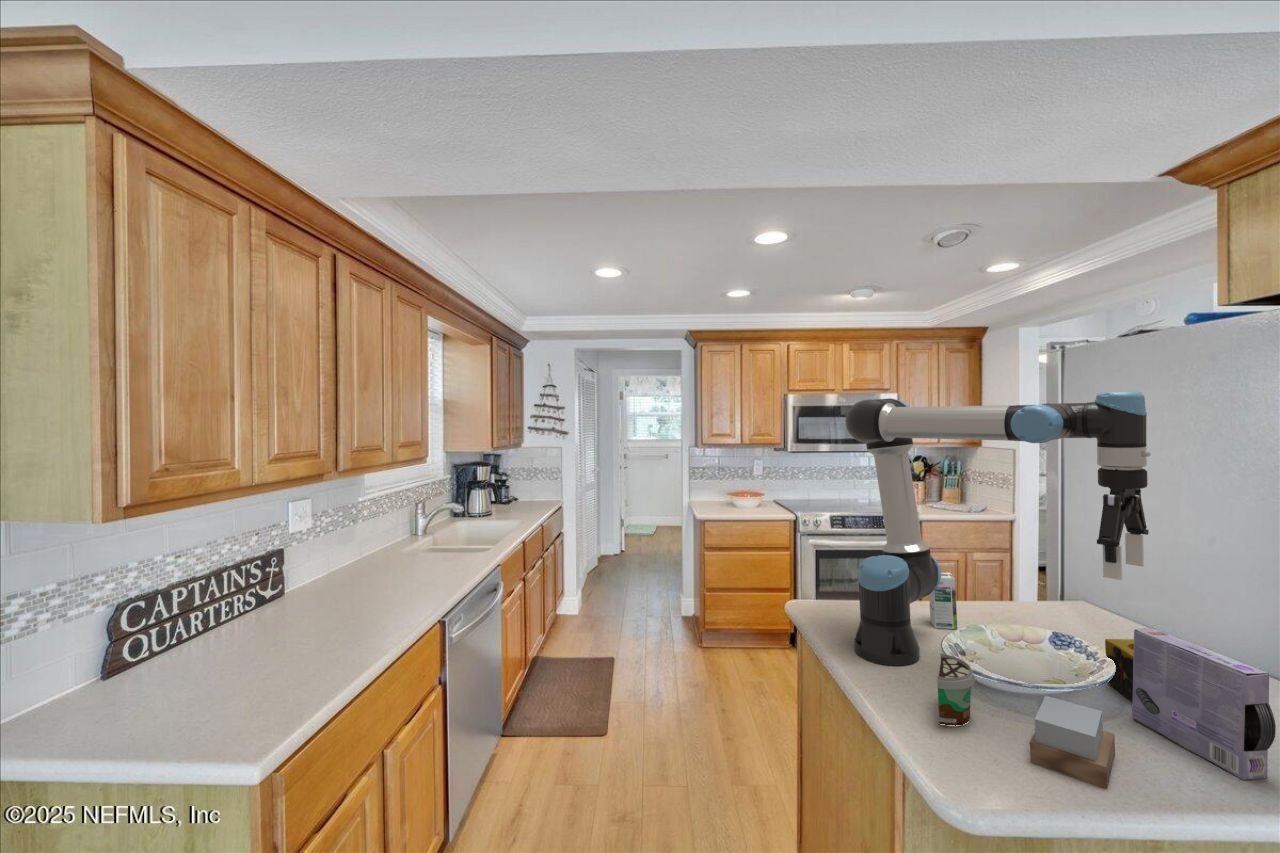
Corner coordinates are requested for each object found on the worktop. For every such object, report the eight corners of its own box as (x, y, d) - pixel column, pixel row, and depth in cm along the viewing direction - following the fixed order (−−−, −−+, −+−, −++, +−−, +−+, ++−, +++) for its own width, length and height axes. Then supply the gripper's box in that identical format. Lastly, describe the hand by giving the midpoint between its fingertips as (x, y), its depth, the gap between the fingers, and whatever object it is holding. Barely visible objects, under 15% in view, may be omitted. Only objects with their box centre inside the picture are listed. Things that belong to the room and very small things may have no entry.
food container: (976, 737, 100) (974, 684, 100) (939, 729, 104) (936, 677, 103) (976, 706, 111) (974, 657, 111) (942, 699, 114) (940, 652, 114)
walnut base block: (1030, 765, 93) (1029, 742, 93) (1044, 734, 101) (1043, 713, 101) (1107, 792, 86) (1106, 767, 86) (1115, 756, 94) (1114, 733, 94)
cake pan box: (1280, 783, 85) (1276, 671, 85) (1252, 786, 85) (1248, 674, 84) (1154, 716, 104) (1150, 625, 104) (1130, 719, 104) (1126, 628, 103)
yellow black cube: (1199, 711, 105) (1197, 660, 105) (1138, 708, 107) (1136, 658, 107) (1160, 685, 115) (1158, 639, 115) (1105, 683, 117) (1103, 637, 117)
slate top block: (1035, 742, 93) (1034, 719, 93) (1046, 717, 100) (1045, 695, 100) (1096, 761, 87) (1095, 736, 87) (1102, 733, 94) (1102, 711, 94)
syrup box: (934, 628, 150) (932, 576, 150) (929, 620, 156) (927, 570, 155) (957, 630, 148) (955, 577, 148) (952, 622, 154) (950, 571, 154)
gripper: (1125, 474, 99) (1128, 589, 100) (1164, 463, 113) (1166, 563, 114) (1075, 472, 106) (1078, 579, 106) (1118, 461, 120) (1120, 556, 120)
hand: (1124, 571), depth 110 cm, fingers open, 13 cm apart
